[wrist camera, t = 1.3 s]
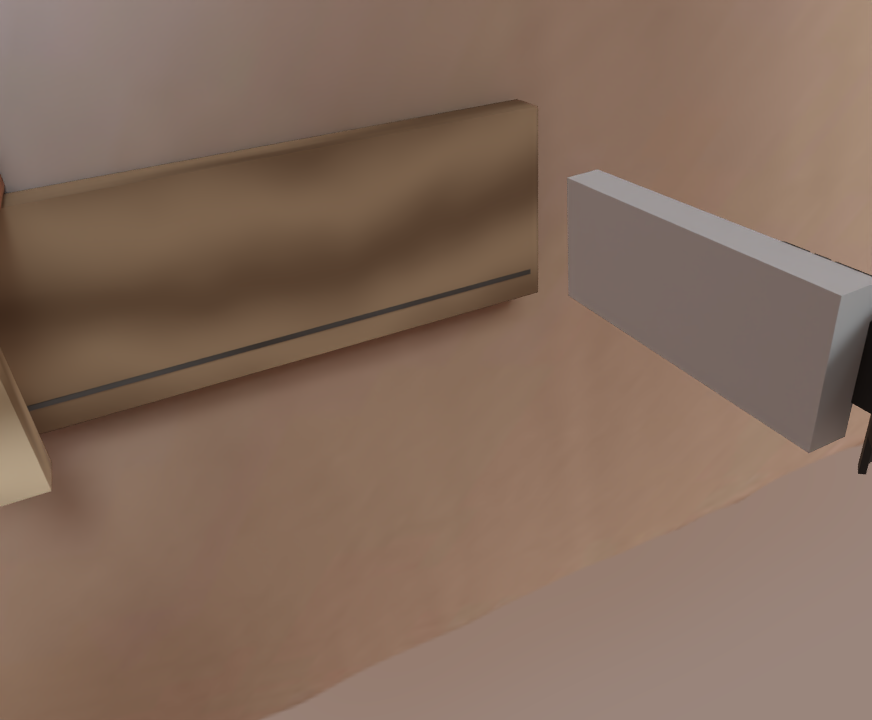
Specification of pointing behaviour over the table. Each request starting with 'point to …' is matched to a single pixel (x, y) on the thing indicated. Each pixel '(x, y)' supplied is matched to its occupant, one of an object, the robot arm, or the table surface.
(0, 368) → the mallet
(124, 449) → the table surface
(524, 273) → the board
